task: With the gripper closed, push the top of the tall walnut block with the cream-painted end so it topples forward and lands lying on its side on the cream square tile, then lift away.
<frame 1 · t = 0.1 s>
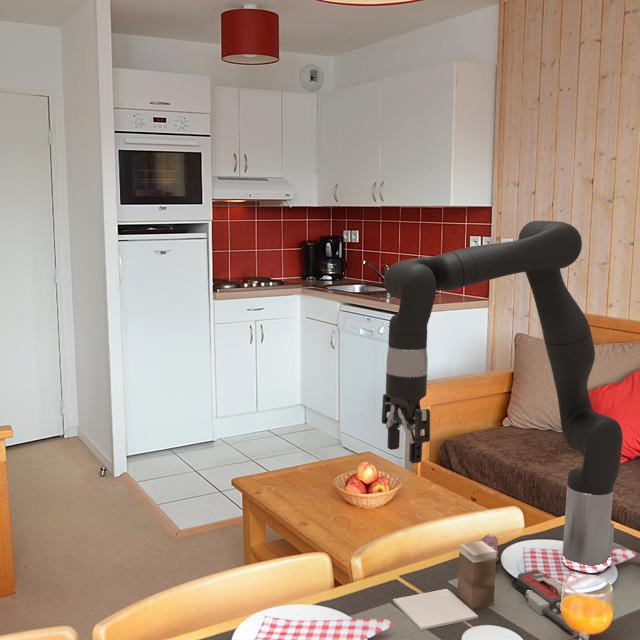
hand: (403, 455, 148), 29 cm above the table, tool pointing down, fingers open, 8 cm apart
walnut block: (475, 601, 153), on the table
cream square tile: (434, 609, 150), on the table
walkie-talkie: (551, 608, 152), on the table
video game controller: (483, 564, 169), on the table
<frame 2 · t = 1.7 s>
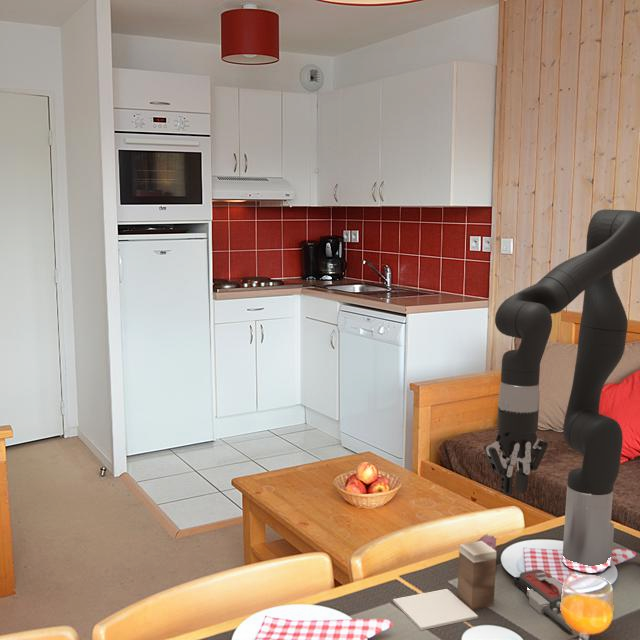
hand: (513, 492, 153), 21 cm above the table, tool pointing down, fingers closed
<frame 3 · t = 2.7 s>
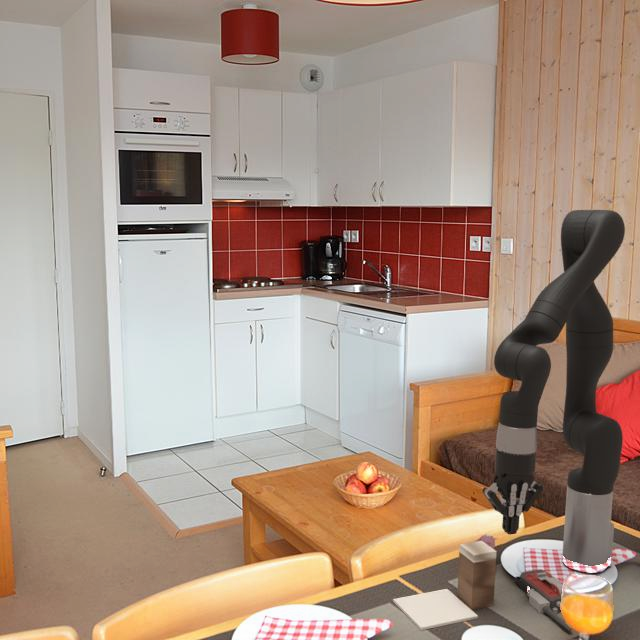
hand: (509, 532, 154), 13 cm above the table, tool pointing down, fingers closed
nothing on the table moved.
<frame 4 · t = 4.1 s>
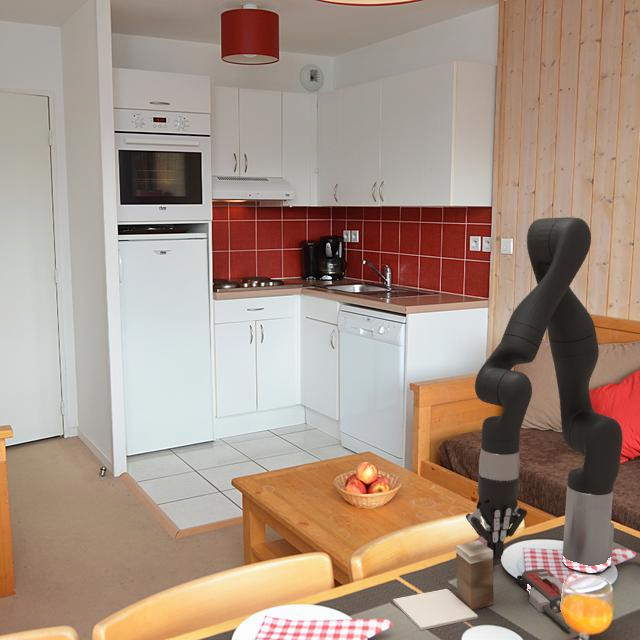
hand: (494, 557, 153), 8 cm above the table, tool pointing down, fingers closed
walnut block: (475, 601, 153), on the table, touching gripper
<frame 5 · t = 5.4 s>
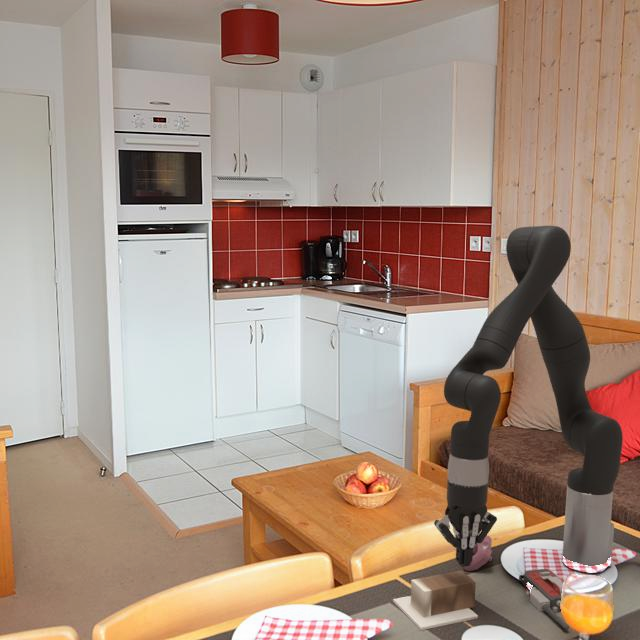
hand: (463, 564, 151), 8 cm above the table, tool pointing down, fingers closed
walnut block: (467, 588, 152), point 3 cm above the table, tilted 90°, touching cream square tile
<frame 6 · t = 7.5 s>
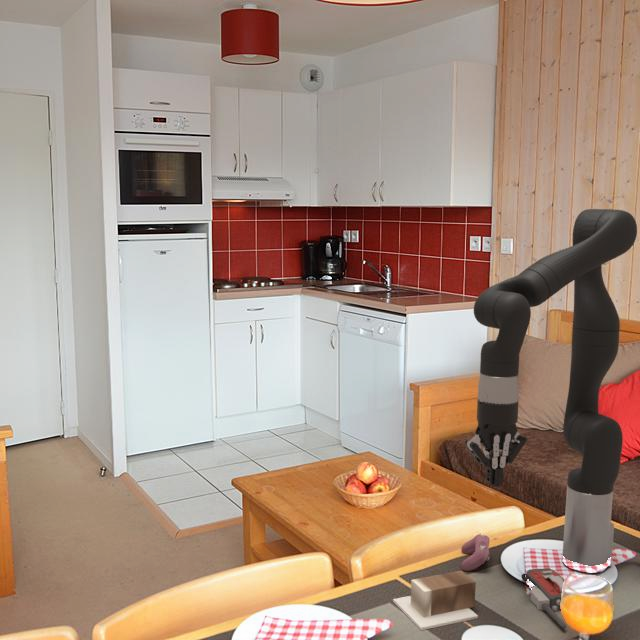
hand: (494, 485, 151), 23 cm above the table, tool pointing down, fingers closed
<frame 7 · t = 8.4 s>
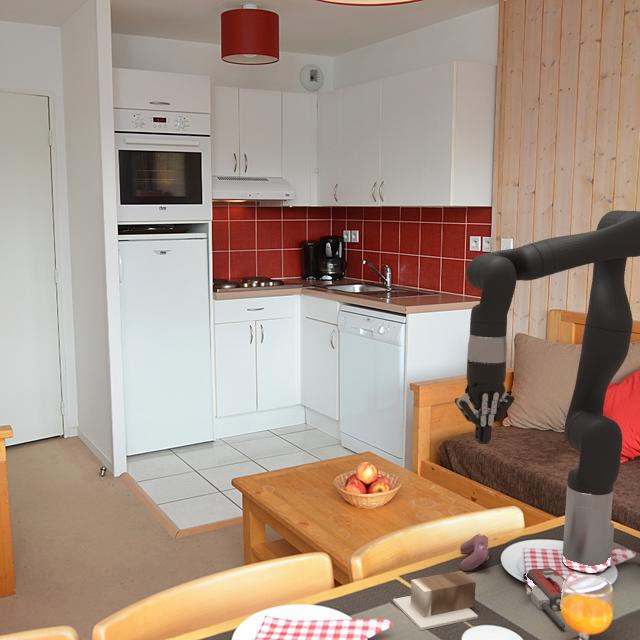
hand: (482, 442, 157), 29 cm above the table, tool pointing down, fingers closed
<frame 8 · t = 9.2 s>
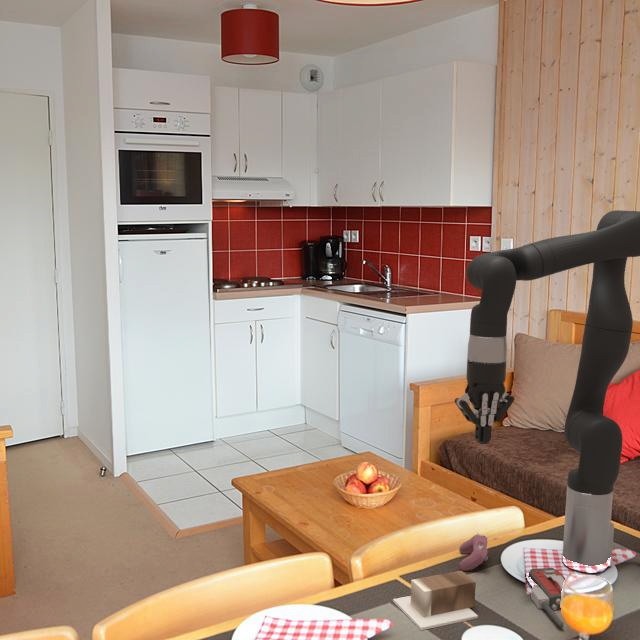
hand: (482, 442, 157), 29 cm above the table, tool pointing down, fingers closed
at the end: walnut block tilted 90°; walnut block touching cream square tile; walnut block inside the target area (4.7 cm from its centre), point 3.0 cm above the table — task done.
